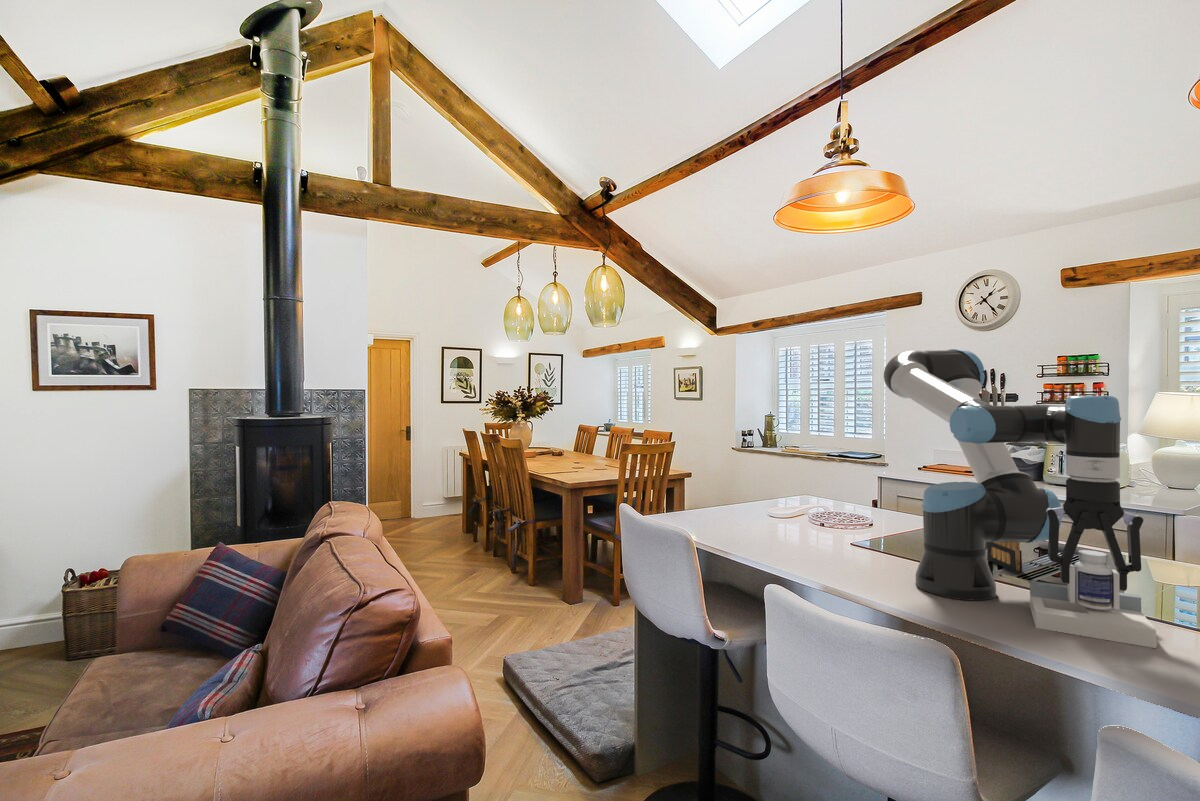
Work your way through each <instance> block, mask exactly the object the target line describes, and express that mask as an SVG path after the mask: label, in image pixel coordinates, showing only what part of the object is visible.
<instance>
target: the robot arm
mask: <svg viewBox="0 0 1200 801" xmlns="http://www.w3.org/2000/svg"><path fill="white" fill-rule="evenodd" d="M984 372H985V368H984V364H983V363H982V361H981V359H980V358H979V357H978V356H977V355H976V354H975V353H973V352H971V351H970V350H963V349H957V348H955V349H954V348H953V349H952V348H951V349H946V350H927V349H926V350H914V349H913V350H907V351H903V352H900V353H898V354H896V355H895V356H893V357H892V358H891V359H890V360H889V361H888V362H887V363H886V366H885V368H884V370H883V380H884V384H885V385H886V387H887V388H888V390H889V391H891V392H892V393H893V394H895V395H897V396H898V397H900V398H903V399H910V400H912V401H913V402H915V403H916V404H918V405H920V406H922V407H923V408H924V409H926V410H928V411H929V412H931V413H933V414H934V415H936V416H937V417H939V418H941V419H942V420H943V421H945V422H947V423H949V429H950V430H949V431H950V432H951V434H953V437H954V438H955V440H957V442H958V444H959V446H960V449H961V451H962V453H963V455H964V457H965V458H966V459H965V460H966V461H967V464H968V465H969V468H970V470H971V472H972V474H973V476H974V478H975V480H976V482H974V481H947V482H940V483H935V484H931V485H930V486H927V487H926V489H924V491H923V495H922V496H923V499H922V507H921V508H922V513H923V514H922V515H923V516H922V518H923V520H922V522H923V553H922V555H921V558H920V561H919V564H918V566H917V570H916V572H915V586H916V587H917V588H919V589H921V590H923V591H925V592H927V593H931V594H933V595H937V596H941V597H946V598H951V599H956V600H957V599H958V600H967V601H985V600H991V599H993V598H995V597H996V596H997V585H996V582H995V580H994V579H995V578H994V576H993V574H992V570H991V568H990V565H989V563H988V560H987V555H986V554H987V551H986V543H987V542H1020V543H1025V544H1031V543H1038V542H1046V541H1048V545H1047V546H1048V547H1047V548H1048V549H1047V557H1048V559H1049V560H1050V561H1051V562H1054V563H1057V564H1059V566H1060V568H1059V569H1060V570H1059V574H1060V575H1059V578H1060V580H1061V581H1062V583H1064V584H1067V586H1068V600H1069V601H1070V603H1075V567H1074V564H1072V560H1073V559H1074V555H1075V553H1076V550H1077V547H1078V544H1079V542H1080V539H1081V537H1082V535H1083V533H1084V531H1085V530H1098V531H1101V532H1102V533H1103V537H1104V539H1105V542H1106V544H1107V547H1108V550H1109V552H1110V555H1111V558H1112V560H1113V563H1114V567H1115V569H1112V568H1111V569H1112V583H1113V606H1112V607H1113V608H1114V609H1118V610H1120V598H1119V592H1120V591H1125V592H1126V591H1127V589H1128V574H1130V573H1133V572H1138V573H1139V572H1140V571H1141V570H1142V555H1141V552H1142V551H1141V537H1140V536H1141V535H1140V530H1141V527H1142V526H1143V523H1144V518H1143V517H1142V516H1140V515H1139V514H1137V513H1135V514H1133V513H1130V512H1126V511H1124V509H1123V508H1122V506H1121V483H1120V482H1119V481H1117V480H1118V479H1120V478H1121V466H1120V465H1121V464H1120V462H1121V461H1120V460H1121V459H1120V456H1121V455H1120V454H1121V453H1120V452H1121V450H1120V449H1121V421H1122V417H1121V414H1120V413H1121V412H1120V403H1119V399H1118V398H1116V397H1115V396H1112V395H1069V396H1068V397H1067V398H1066V399H1065V405H1053V404H1052V405H1051V404H1033V405H994V404H990V403H988V402H985V401H984V400H982V398H981V397H980V395H979V394H981V391H982V388H983V387H982V386H983V385H984V382H985V377H986V376H985V373H984ZM1007 443H1009V444H1010V443H1020V444H1021V443H1028V444H1029V443H1051V444H1053V443H1054V444H1064V445H1065V447H1066V448H1065V475H1067V476H1068V478H1067V479H1066V480H1065V501H1064V503H1063V504H1062V506H1061V503H1060V500H1059V498H1058V496H1057V495H1056V494H1055V493H1054V491H1051V490H1049V489H1047V488H1045V487H1037V485H1036V484H1035V481H1034V479H1033V478H1032V476H1031V474H1029V473H1027V472H1023V471H1020V470H1019V468H1018V466H1017V465H1016V463H1015V461H1014V459H1013V457H1012V455H1011V454H1010V451H1009V449H1008V448H1007V445H1006V444H1007ZM1064 514H1066V515H1067V516H1068V518H1070V520H1071V521H1072V524H1071V528H1070V531H1069V534H1068V536H1067V537H1068V538H1067V540H1066V542H1065V545H1064V548H1063V550H1062V553H1061V555H1059V543H1060V542H1059V541H1060V540H1059V539H1060V537H1059V536H1060V528H1061V524H1062V521H1063V515H1064ZM1121 518H1123V523H1124V524H1125V525H1126V535H1127V552H1128V553H1127V554H1128V555H1127V556H1128V557H1127V558H1128V562H1125V559H1124V555H1123V554H1122V551H1121V548H1120V545H1119V544H1118V540H1117V538H1116V534H1115V530H1114V528H1113V526H1114V525H1115V524H1117V522H1118V521H1120V520H1121Z"/></svg>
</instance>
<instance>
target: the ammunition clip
mask: <svg viewBox="0 0 1200 801" xmlns="http://www.w3.org/2000/svg"><path fill="white" fill-rule="evenodd" d="M1020 544H1021V542H986V545H987V546H986V547H987V548H986V549H987V550H986V554H987V555H986V560H987V561H988V562H992V563H994V564H996V565H998V566H1001V567H1003V568H1005V569H1008V570H1009V571H1012V572H1016V573H1017V572H1019V573H1020V572H1021V573H1022V572H1023V557H1022V555H1023V554H1022V550H1020V549H1021V548H1020V546H1021V545H1020Z"/></svg>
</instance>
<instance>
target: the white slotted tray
mask: <svg viewBox="0 0 1200 801" xmlns="http://www.w3.org/2000/svg"><path fill="white" fill-rule="evenodd" d="M1119 598H1120V610H1118V609H1114V608H1113V607H1112V608H1111V609H1108V610H1099V609H1092V608H1088V607H1084V606H1081V605H1079V604H1077V603H1076V602H1075V603H1070V601H1069V600H1068V584H1059V583H1052V582H1051V583H1050V582H1044V581H1036V580H1029V605H1030V606H1029V608H1030V611H1031V615H1032V619H1033V622H1034V626H1035V628H1036V629H1039V630H1046V631H1052V632H1056V631H1057V632H1058V633H1062V632H1063V633H1064V634H1068V633H1069V634H1071V635H1074V634H1075V635H1076V636H1080V635H1081V637H1087V638H1094V639H1099V640H1105V641H1110V642H1111V641H1112V642H1115V643H1116V642H1118V643H1122V644H1123V643H1124V644H1128V645H1135V646H1140V647H1147V648H1152V649H1157V630H1156V628H1155V627H1154V625H1153V624H1152V623H1151V622H1150V620H1149V619H1148V618H1147V617H1146V616H1145V614H1144V613H1143V612H1142V598H1141V597H1140V595H1139V594H1134V593H1127V592H1120V591H1119ZM1063 633H1062V634H1063Z"/></svg>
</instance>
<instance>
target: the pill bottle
mask: <svg viewBox="0 0 1200 801" xmlns="http://www.w3.org/2000/svg"><path fill="white" fill-rule="evenodd" d="M1078 559H1079V560H1078V561H1076V562H1074V564H1073V566H1074V567H1075V602H1076V603H1077V604H1079V605H1081V606H1084V607H1088V608H1092V609H1099V610H1108V609H1111V608H1112V606H1113V583H1112V568H1111V567H1110V566H1108V565H1107V563H1108V555H1107V553H1105V552H1101V551H1097V550H1096V551H1095V550H1088V549H1081V550H1078Z"/></svg>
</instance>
